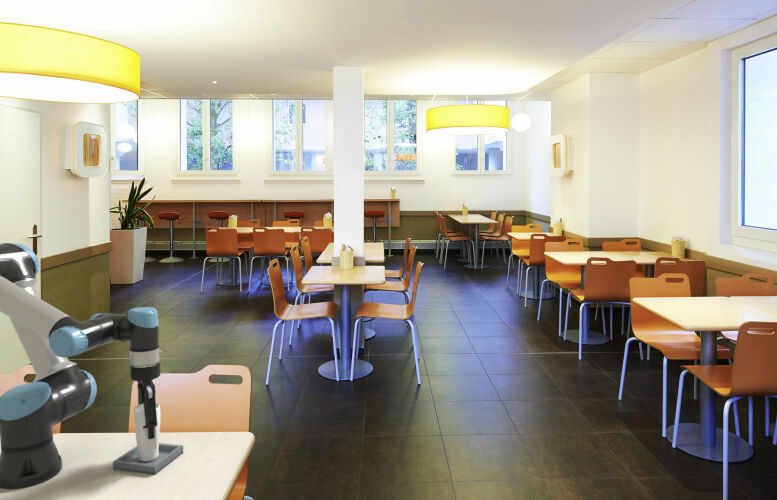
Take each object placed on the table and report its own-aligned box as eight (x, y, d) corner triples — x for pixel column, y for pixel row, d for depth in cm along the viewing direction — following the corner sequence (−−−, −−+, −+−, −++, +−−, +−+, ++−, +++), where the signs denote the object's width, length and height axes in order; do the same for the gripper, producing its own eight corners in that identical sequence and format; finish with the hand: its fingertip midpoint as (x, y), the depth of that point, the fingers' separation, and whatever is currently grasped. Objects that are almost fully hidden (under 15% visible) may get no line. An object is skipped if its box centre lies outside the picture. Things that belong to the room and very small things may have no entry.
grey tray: (112, 469, 150) (112, 461, 149) (143, 448, 162) (143, 441, 162) (155, 474, 147) (154, 466, 147) (183, 452, 159) (183, 445, 159)
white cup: (151, 465, 151) (150, 413, 149) (130, 462, 152) (128, 410, 150) (166, 453, 157) (165, 403, 156) (145, 450, 159) (144, 400, 157)
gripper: (167, 371, 145) (170, 454, 147) (152, 352, 163) (155, 427, 165) (136, 376, 141) (139, 461, 143) (125, 356, 159) (128, 432, 161)
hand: (148, 442), depth 154 cm, fingers open, 8 cm apart
